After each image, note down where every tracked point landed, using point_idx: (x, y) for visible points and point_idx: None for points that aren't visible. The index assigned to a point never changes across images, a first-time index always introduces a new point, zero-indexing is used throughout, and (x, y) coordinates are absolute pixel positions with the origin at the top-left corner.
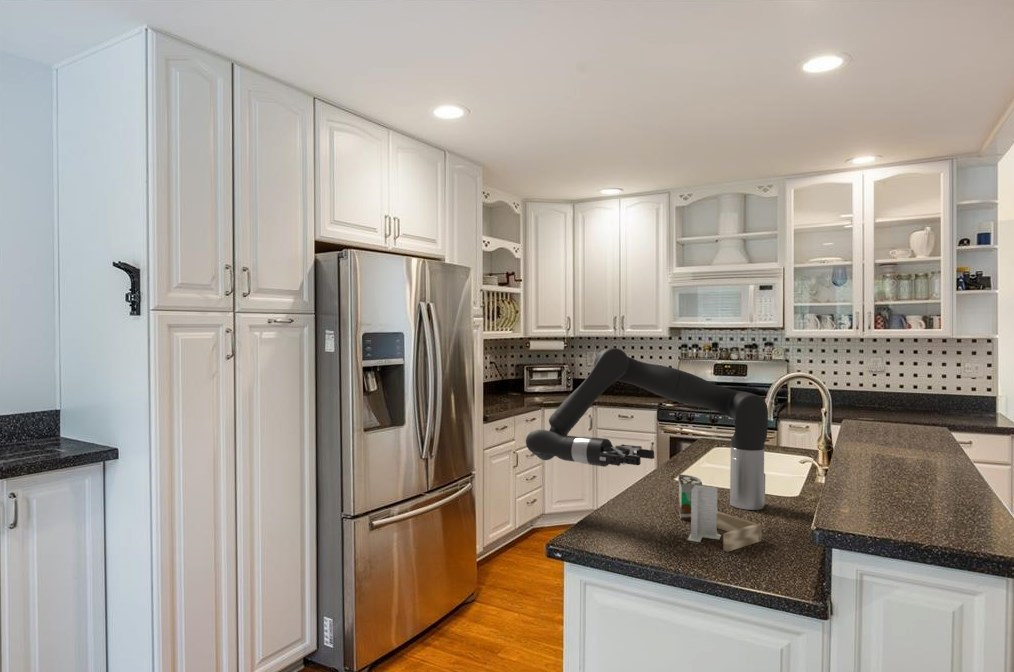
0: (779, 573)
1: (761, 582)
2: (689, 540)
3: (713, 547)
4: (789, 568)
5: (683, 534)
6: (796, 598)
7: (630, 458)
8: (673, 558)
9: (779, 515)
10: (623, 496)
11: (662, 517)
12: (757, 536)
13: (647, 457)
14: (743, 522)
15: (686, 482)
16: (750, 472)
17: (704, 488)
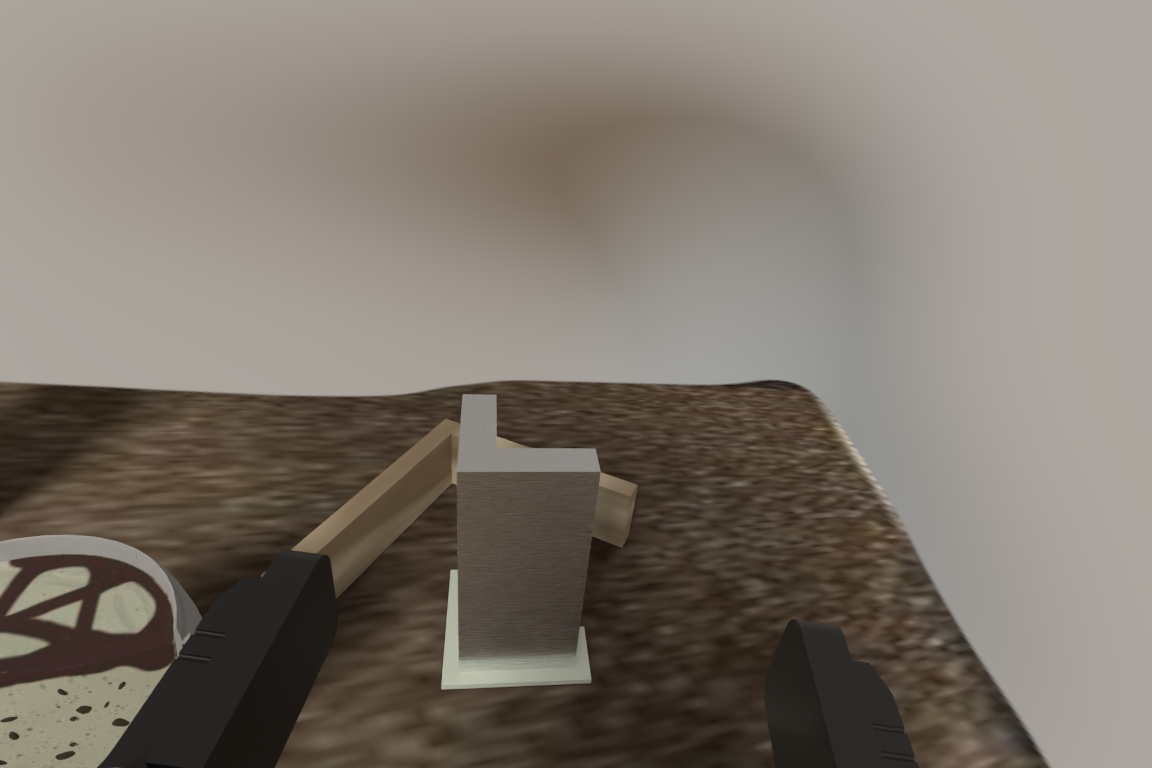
0: (703, 430)
1: (801, 455)
2: (588, 674)
3: (612, 579)
4: (649, 416)
5: (508, 721)
6: (824, 408)
7: (914, 765)
8: None
9: (80, 437)
10: None
11: None
12: None
13: (300, 700)
14: (422, 464)
15: (2, 638)
16: None
17: (495, 436)
